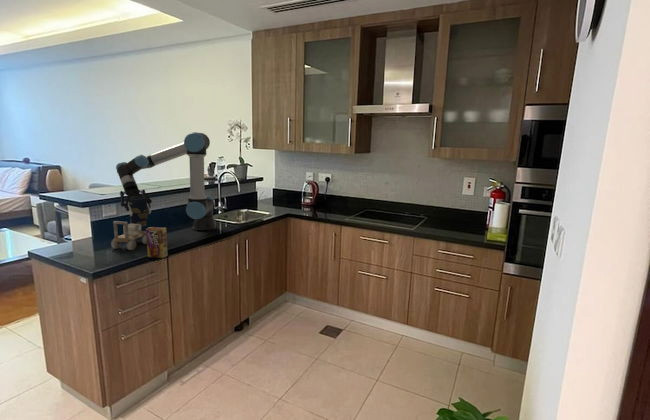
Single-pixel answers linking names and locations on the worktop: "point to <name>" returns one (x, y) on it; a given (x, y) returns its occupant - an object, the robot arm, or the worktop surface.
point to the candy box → (156, 242)
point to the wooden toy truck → (128, 235)
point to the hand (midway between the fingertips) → (140, 213)
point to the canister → (139, 210)
